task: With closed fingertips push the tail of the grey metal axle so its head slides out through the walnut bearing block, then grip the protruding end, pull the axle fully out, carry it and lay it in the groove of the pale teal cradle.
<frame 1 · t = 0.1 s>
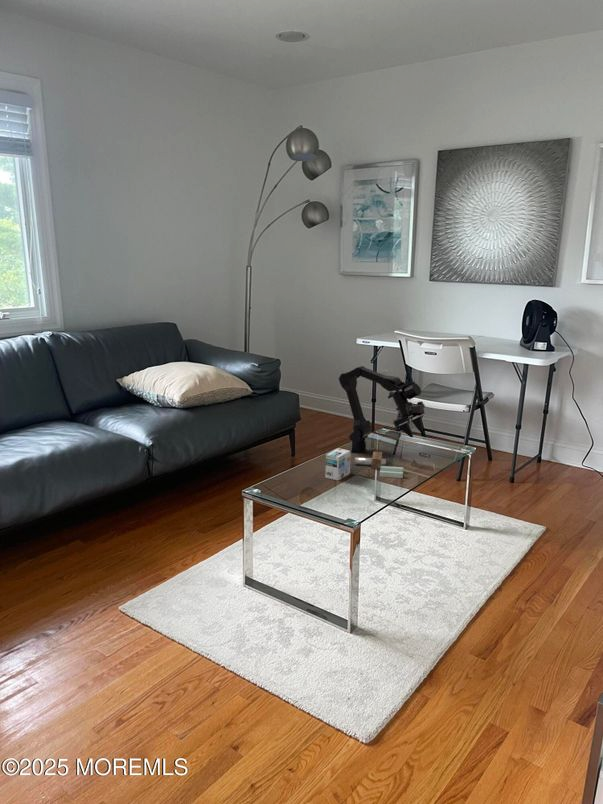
hand: (417, 434, 276), 15 cm above the table, tool tilted 35°, fingers open, 9 cm apart
bearing block: (376, 465, 280), on the table
cradle: (391, 473, 270), on the table
light bulb box: (337, 476, 268), on the table
axle: (370, 465, 281), on the table
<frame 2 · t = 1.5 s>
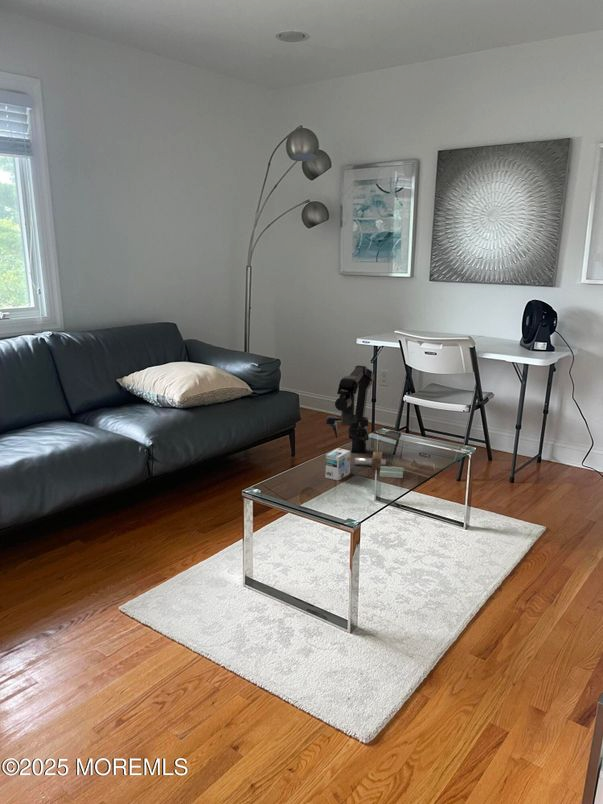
hand: (346, 438, 279), 12 cm above the table, tool pointing down, fingers open, 9 cm apart
axle: (370, 465, 281), on the table, tilted 20°
everything else where it was.
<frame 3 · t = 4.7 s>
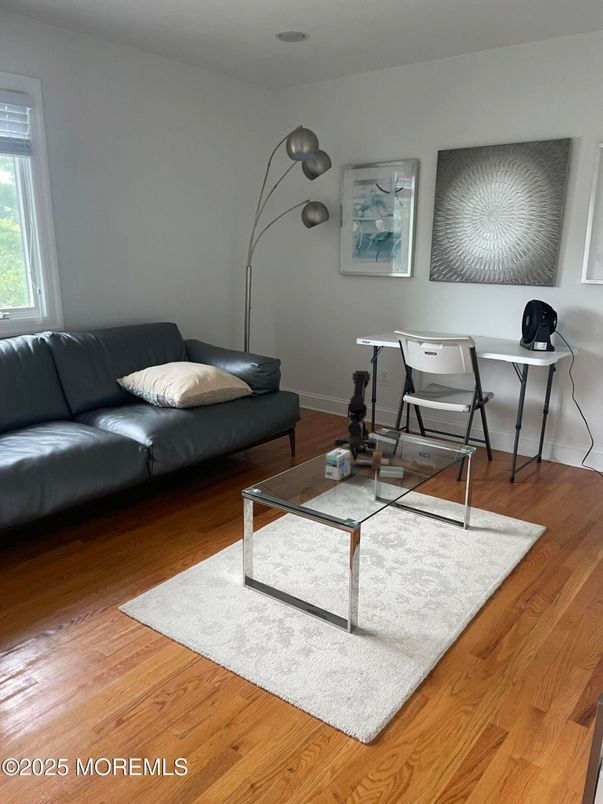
hand: (355, 460, 281), 2 cm above the table, tool pointing down, fingers closed
axle: (372, 465, 280), on the table, tilted 12°, touching gripper
everything else where it was.
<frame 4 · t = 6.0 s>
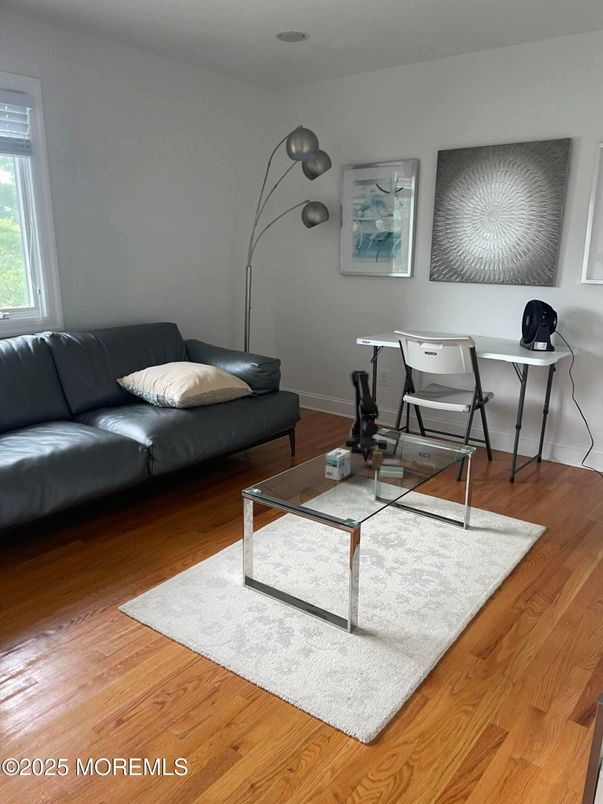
hand: (365, 461, 280), 2 cm above the table, tool pointing down, fingers closed
axle: (383, 466, 280), on the table, tilted 14°
everything else where it was.
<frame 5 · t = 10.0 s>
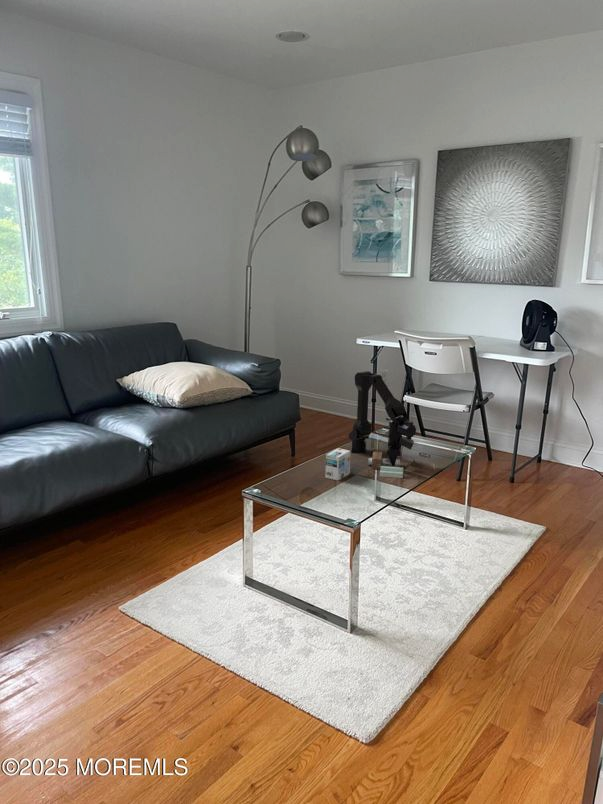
hand: (393, 464, 278), 1 cm above the table, tool pointing down, fingers closed on axle, 3 cm apart
axle: (383, 465, 280), on the table, touching gripper
everything else where it was.
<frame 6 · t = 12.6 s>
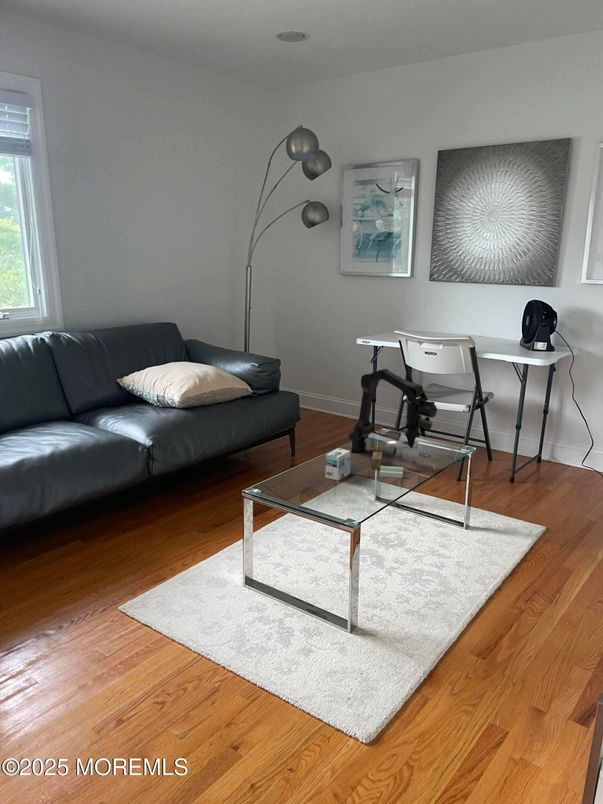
hand: (411, 446, 275), 10 cm above the table, tool pointing down, fingers closed on axle, 3 cm apart
axle: (401, 448, 276), point 9 cm above the table, touching gripper
everything else where it was.
when the fingers open (3 cm above the table, at t = 15.2 s): axle drops 1 cm, resting on cradle.
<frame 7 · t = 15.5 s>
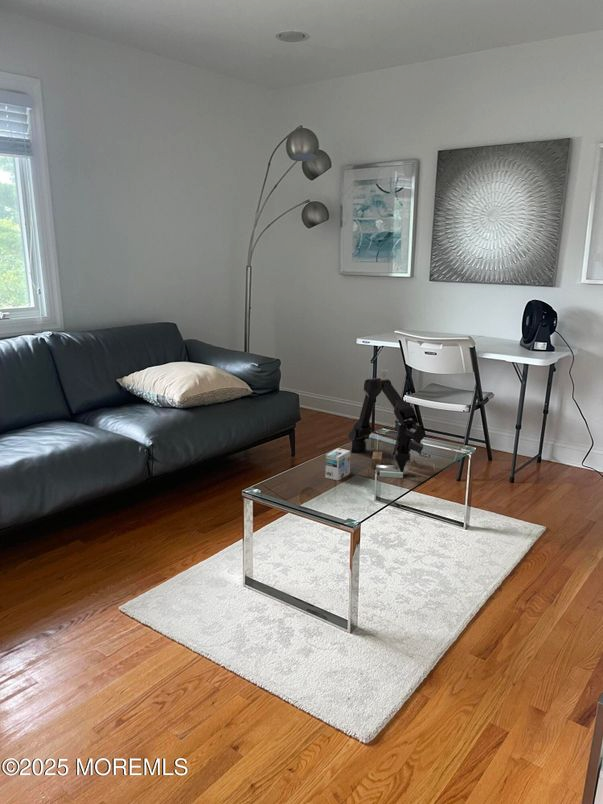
hand: (402, 468, 268), 3 cm above the table, tool pointing down, fingers open, 7 cm apart
axle: (392, 473, 270), resting on cradle
everything else where it was.
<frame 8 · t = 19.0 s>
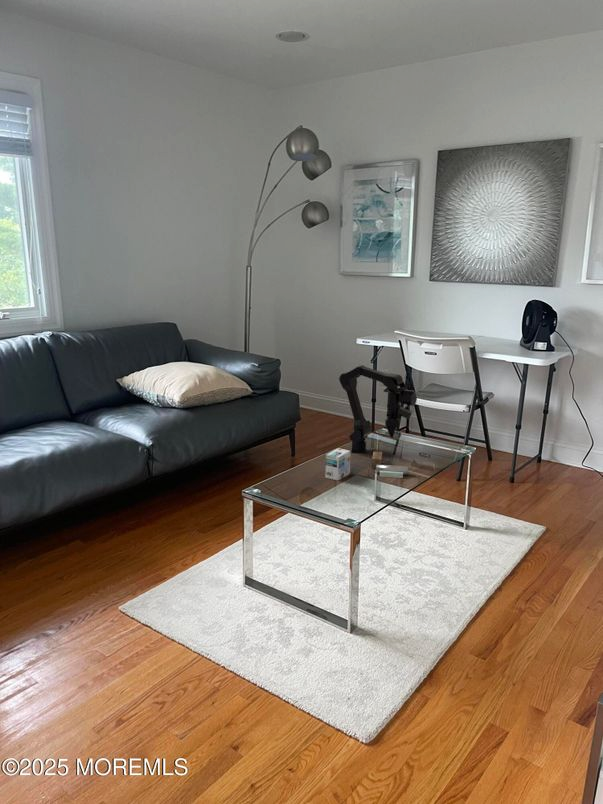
hand: (392, 434, 285), 12 cm above the table, tool pointing down, fingers open, 9 cm apart
nothing on the table moved.
at the end: axle inside the target area on the cradle (0.3 cm from its centre), point 0.4 cm above the cradle's base; the gripper is holding nothing; axle inside the target area (9.3 cm from its centre), resting on cradle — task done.
